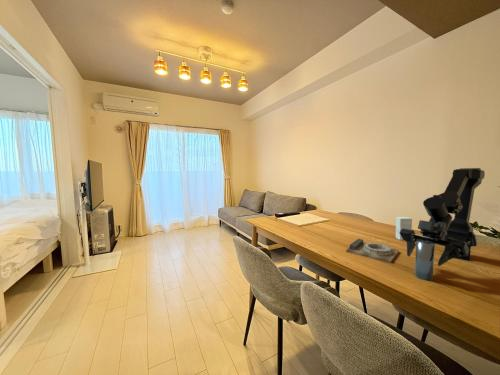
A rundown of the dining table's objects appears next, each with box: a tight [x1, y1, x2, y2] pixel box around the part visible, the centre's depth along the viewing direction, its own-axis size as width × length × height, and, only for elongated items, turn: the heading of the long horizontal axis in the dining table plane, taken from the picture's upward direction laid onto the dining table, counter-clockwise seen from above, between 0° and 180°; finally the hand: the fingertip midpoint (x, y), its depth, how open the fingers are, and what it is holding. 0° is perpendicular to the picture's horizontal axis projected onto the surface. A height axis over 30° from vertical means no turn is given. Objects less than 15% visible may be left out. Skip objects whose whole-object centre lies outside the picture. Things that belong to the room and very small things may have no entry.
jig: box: [345, 238, 400, 264], centre depth 98 cm, size 18×16×3 cm
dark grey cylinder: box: [414, 240, 436, 282], centre depth 74 cm, size 5×5×13 cm
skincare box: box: [395, 216, 413, 241], centre depth 114 cm, size 6×4×12 cm
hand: (422, 260), depth 73 cm, fingers open, 9 cm apart
